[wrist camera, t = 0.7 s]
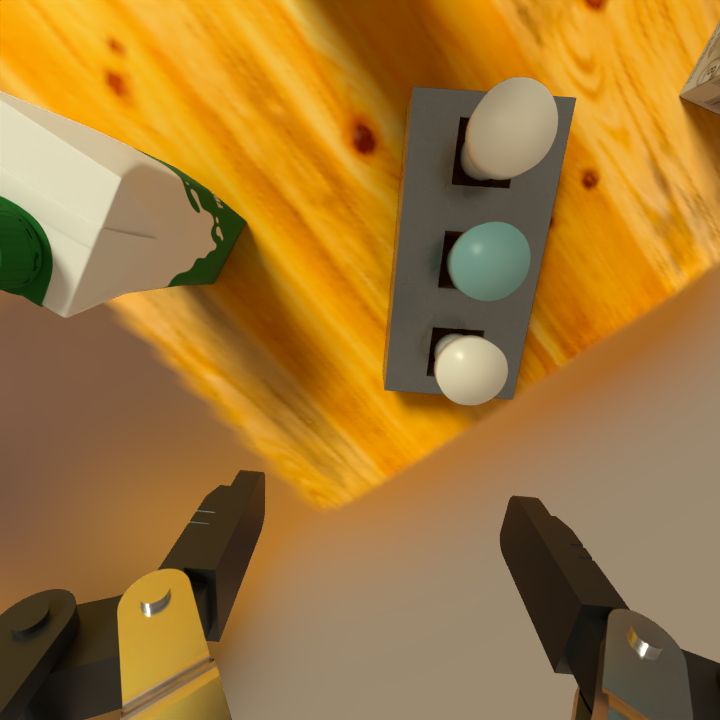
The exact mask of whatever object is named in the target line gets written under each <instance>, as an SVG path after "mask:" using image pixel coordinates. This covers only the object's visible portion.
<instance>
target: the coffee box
mask: <svg viewBox="0 0 720 720" xmlns="http://www.w3.org/2000/svg"><path fill="white" fill-rule="evenodd" d="M680 97H682V98H684V99H686V100H688V101H691V102H693V103H695V104H697V105H699V106H701V107H704V108H706V109H708V110H710V111H712V112H714V113H717V114H719V115H720V21H719V23H718V25H717V27H716V29H715V31H714V32H713V34H712V36H711V38H710V40H709V42H708V44H707V45H706V47H705V49H704V51H703V53H702V55H701V57H700V58H699V60H698V62H697V64H696V66H695V68H694V69H693V71H692V73H691V75H690V77H689V79H688V80H687V82H686V84H685V86H684V88H683V90H682V91H681V93H680Z"/></svg>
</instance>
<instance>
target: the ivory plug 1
mask: <svg viewBox="0 0 720 720" xmlns="http://www.w3.org/2000/svg"><path fill="white" fill-rule="evenodd" d="M434 358H435V364H434V374H435V378H436V381H437V383H438V385H439V386H440V388H441V390H442V392H443V393H444V394H445V395H446V396H447V397H448V398H449V399H450V400H452V401H453V402H456V403H458V404H461V405H478V404H482V403H485V402H487V401H489V400H490V399H492V398H493V397H495V396H496V395H497V394H498V393H499V392H500V390H501V389H502V388H503V386H504V384H505V382H506V379H507V375H508V365H507V361H506V358H505V356H504V354H503V353H502V351H501V350H500V349H499V348H498V347H496V346H495V345H494V344H492V343H491V342H489V341H488V340H486V339H484V338H482V337H479V336H474V335H466V336H464V335H462V334H459V333H451V334H447V335H445V336H443V337H442V338H441V339H440V340H439V341H438V342H437V344H436V346H435V348H434Z"/></svg>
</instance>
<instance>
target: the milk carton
mask: <svg viewBox="0 0 720 720" xmlns="http://www.w3.org/2000/svg"><path fill="white" fill-rule="evenodd" d="M245 223H246V221H245V220H244V219H243V218H242V217H241V216H239V215H238V214H237V213H236V212H235V211H233V210H232V209H231V208H230V207H229V206H228V205H226V204H225V203H224V202H223V201H222V200H220V199H219V198H218V197H217V196H216V195H214V194H213V193H212V192H211V191H210V190H208V189H207V188H205V187H204V186H202V185H201V184H199V183H198V182H196V181H195V180H193V179H192V178H190V177H189V176H188V175H186V174H185V173H183V172H181V171H180V170H178V169H177V168H175V167H173V166H171V165H169V164H167V163H165V162H163V161H161V160H158V159H156V158H154V157H152V156H150V155H148V154H146V153H144V152H141V151H139V150H137V149H135V148H133V147H131V146H129V145H126V144H124V143H122V142H120V141H118V140H116V139H114V138H111V137H109V136H107V135H105V134H103V133H101V132H99V131H96V130H94V129H92V128H90V127H87V126H85V125H83V124H80V123H78V122H75V121H73V120H71V119H68V118H66V117H63V116H61V115H58V114H56V113H53V112H51V111H48V110H46V109H43V108H41V107H38V106H36V105H34V104H31V103H29V102H26V101H24V100H21V99H19V98H16V97H14V96H12V95H9V94H7V93H4V92H2V91H0V290H3V291H6V292H8V293H12V294H16V295H21V296H24V297H25V298H27V299H29V300H30V301H32V302H33V303H35V304H37V305H39V306H41V307H42V306H45V307H47V308H49V309H50V310H52V311H54V312H55V313H57V314H59V315H60V316H62V317H65V318H68V317H70V316H72V315H75V314H77V313H80V312H82V311H85V310H87V309H89V308H91V307H94V306H96V305H99V304H101V303H104V302H106V301H108V300H111V299H113V298H116V297H118V296H121V295H123V294H126V293H132V292H139V291H146V290H153V289H159V288H166V287H173V286H180V285H202V284H214V283H215V281H216V279H217V277H218V275H219V273H220V271H221V269H222V267H223V265H224V263H225V261H226V259H227V257H228V255H229V254H230V252H231V250H232V248H233V246H234V244H235V242H236V240H237V238H238V236H239V234H240V232H241V230H242V228H243V226H244V225H245Z"/></svg>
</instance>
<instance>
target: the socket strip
mask: <svg viewBox="0 0 720 720" xmlns="http://www.w3.org/2000/svg"><path fill="white" fill-rule="evenodd" d="M487 93H488V92H485V91H470V90H455V89H440V88H425V87H413V89H412V93H411V97H410V101H409V105H408V109H407V112H406V120H405V131H404V142H403V153H402V164H401V175H400V186H399V198H398V209H397V220H396V231H395V242H394V253H393V264H392V275H391V286H390V297H389V308H388V319H387V330H386V341H385V352H384V363H383V381H384V389H385V390H388V391H402V392H416V393H430V394H444V393H443V392H442V390H441V388H440V386H439V385H438V383H437V381H436V378H435V374H434V364H435V362H434V361H428V359H429V351H430V344H431V336H432V328H433V327H440V328H455V329H467V335H474V336H479V337H482V338H484V339H486V340H488V341H489V342H491V343H492V344H494V345H495V346H496V347H498V348H499V349H500V350H501V351H502V353H503V354H504V356H505V358H506V361H507V365H508V375H507V379H506V382H505V384H504V386H503V388H502V389H501V390H500V392H499V393H498V394H497V395H496V396H495V397H493V398H500V399H513V395H514V391H515V386H516V381H517V376H518V372H519V367H520V362H521V358H522V353H523V348H524V343H525V339H526V334H527V329H528V324H529V320H530V315H531V310H532V306H533V301H534V296H535V291H536V287H537V282H538V277H539V272H540V268H541V263H542V258H543V254H544V249H545V244H546V239H547V235H548V230H549V225H550V220H551V216H552V211H553V206H554V201H555V197H556V192H557V187H558V183H559V178H560V173H561V168H562V164H563V159H564V154H565V149H566V145H567V140H568V135H569V131H570V126H571V121H572V116H573V112H574V107H575V102H576V98H573V97H558V96H553V98H554V100H555V103H556V107H557V111H558V127H557V132H556V136H555V139H554V142H553V144H552V146H551V148H550V149H549V151H548V153H547V154H546V155H545V156H544V158H543V159H542V160H541V161H540V162H539V163H538V164H536V165H535V166H534V167H532V168H531V169H529V170H527V171H525V172H523V173H522V174H520V175H518V176H516V177H513V178H510V179H505V180H496V179H491V185H490V187H478V186H464V185H451V182H452V174H453V167H454V159H455V151H456V144H457V140H465V136H466V129H467V125H468V122H469V120H470V117H471V115H472V113H473V112H474V110H475V109H476V107H477V106H478V104H479V103H480V102H481V100H482V99H483V98H484V96H485V95H486V94H487ZM488 222H504V223H507V224H510V225H512V226H514V227H515V228H517V229H518V230H519V231H520V232H521V233H522V234H523V235H524V237H525V238H526V240H527V242H528V245H529V248H530V266H529V270H528V273H527V275H526V277H525V279H524V281H523V282H522V283H521V285H520V286H519V287H518V288H517V289H516V290H515V291H514V292H512V293H511V294H510V295H508V296H506V297H504V298H501V299H499V300H494V301H481V300H477V299H474V298H471V297H469V296H467V295H465V294H463V293H462V292H460V291H459V290H458V289H457V288H456V287H455V285H441V284H438V282H439V274H440V267H441V259H442V251H443V244H444V236H445V235H447V236H461V235H462V234H463V233H464V232H466V231H467V230H469V229H471V228H473V227H475V226H478V225H481V224H485V223H488ZM444 395H445V394H444Z"/></svg>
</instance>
